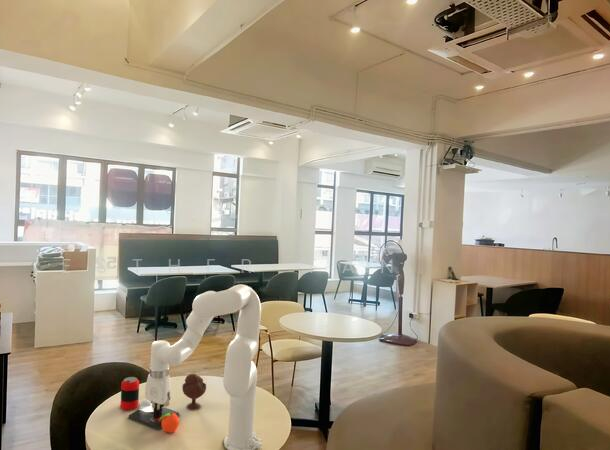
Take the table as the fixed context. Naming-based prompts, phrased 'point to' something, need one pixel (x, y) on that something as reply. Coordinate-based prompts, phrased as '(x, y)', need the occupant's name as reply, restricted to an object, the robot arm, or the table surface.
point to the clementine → (170, 422)
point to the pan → (146, 407)
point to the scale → (150, 418)
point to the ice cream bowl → (193, 389)
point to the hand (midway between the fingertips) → (157, 417)
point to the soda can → (129, 393)
